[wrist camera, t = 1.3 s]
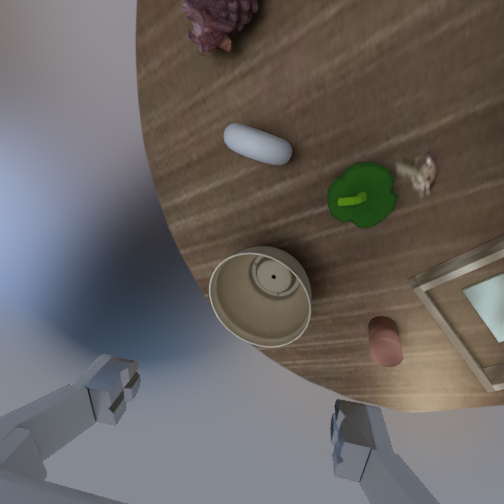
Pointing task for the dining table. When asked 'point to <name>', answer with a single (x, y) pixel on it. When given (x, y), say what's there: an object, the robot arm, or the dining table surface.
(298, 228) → the dining table surface
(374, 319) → the reddish pink cylinder
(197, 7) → the pine cone
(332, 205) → the bell pepper
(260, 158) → the donut
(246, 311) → the planter bowl
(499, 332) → the corral
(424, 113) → the dining table surface
